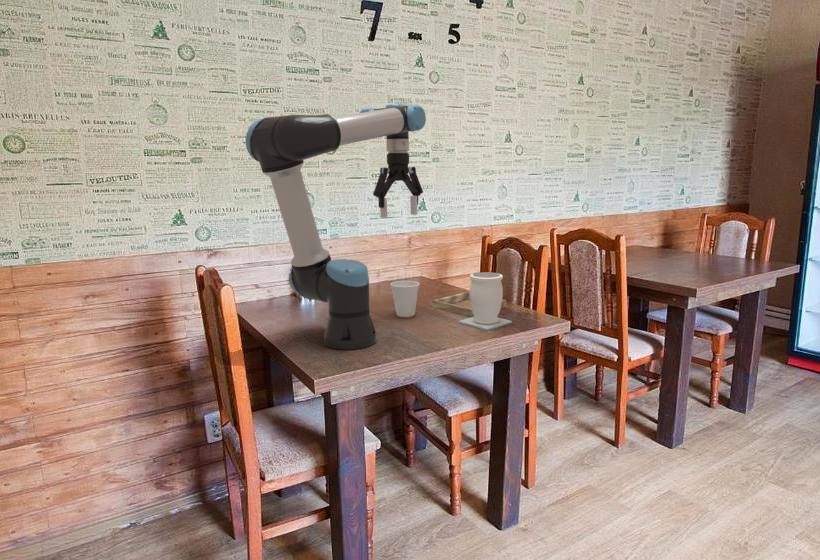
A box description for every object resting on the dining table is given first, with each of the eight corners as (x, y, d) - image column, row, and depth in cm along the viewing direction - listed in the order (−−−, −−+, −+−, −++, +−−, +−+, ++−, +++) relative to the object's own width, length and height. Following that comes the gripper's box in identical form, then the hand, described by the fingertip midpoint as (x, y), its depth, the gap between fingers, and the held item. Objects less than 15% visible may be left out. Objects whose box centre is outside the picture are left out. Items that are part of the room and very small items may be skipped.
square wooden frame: (470, 317, 183) (470, 309, 183) (432, 307, 197) (432, 300, 196) (506, 307, 195) (506, 300, 195) (467, 298, 209) (467, 291, 208)
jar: (504, 325, 171) (505, 278, 168) (471, 325, 171) (471, 278, 168) (499, 316, 182) (500, 271, 179) (468, 316, 182) (468, 271, 179)
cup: (417, 319, 181) (416, 287, 179) (387, 318, 183) (387, 286, 181) (422, 312, 191) (422, 280, 189) (394, 311, 193) (393, 280, 191)
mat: (487, 330, 168) (487, 328, 168) (458, 322, 177) (458, 321, 177) (512, 322, 176) (512, 321, 176) (483, 315, 185) (483, 313, 185)
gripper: (375, 152, 174) (377, 219, 179) (432, 152, 190) (433, 213, 195) (361, 152, 180) (363, 218, 184) (417, 152, 196) (418, 212, 200)
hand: (399, 216), depth 189 cm, fingers open, 13 cm apart
